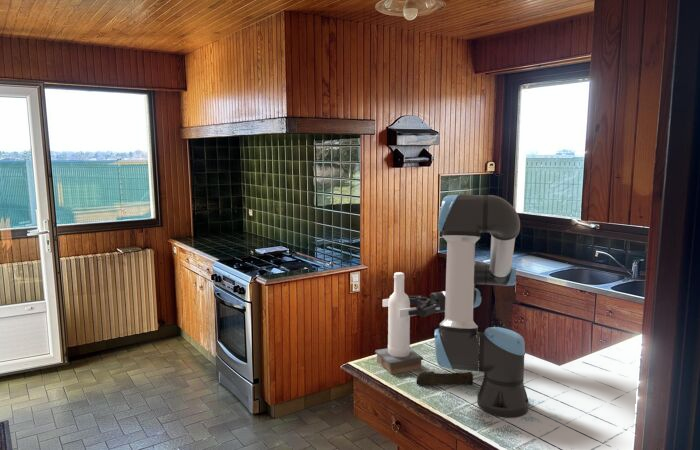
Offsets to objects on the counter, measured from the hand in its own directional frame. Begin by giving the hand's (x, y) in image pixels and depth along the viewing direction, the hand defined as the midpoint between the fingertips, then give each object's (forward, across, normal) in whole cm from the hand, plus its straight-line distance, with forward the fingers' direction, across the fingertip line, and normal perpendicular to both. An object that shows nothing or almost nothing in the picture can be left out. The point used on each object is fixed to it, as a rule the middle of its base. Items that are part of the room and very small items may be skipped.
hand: (390, 308), depth 182 cm
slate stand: (-3, 0, -22) cm, 22 cm away
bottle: (-3, 0, -18) cm, 18 cm away
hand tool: (-11, -20, -22) cm, 32 cm away
